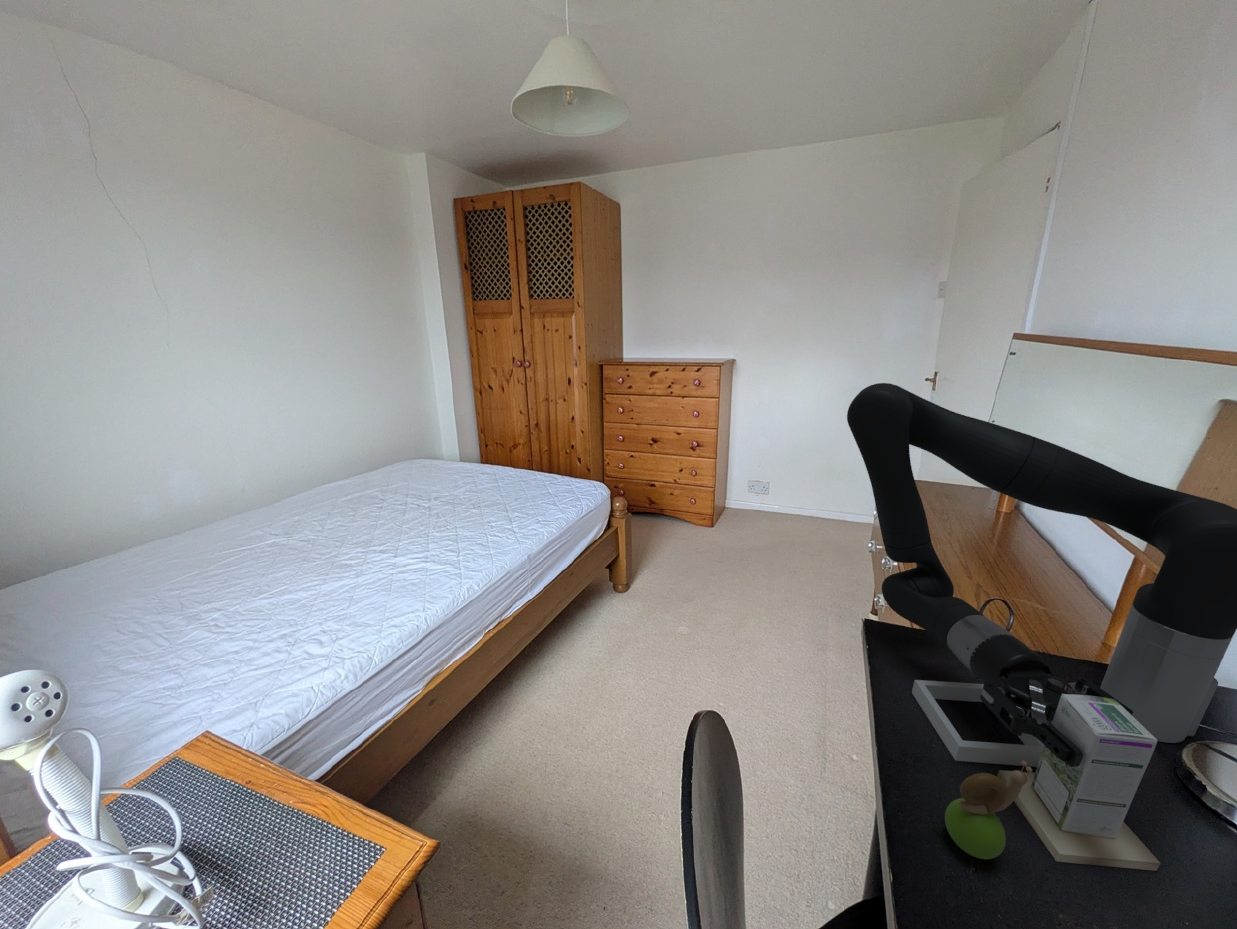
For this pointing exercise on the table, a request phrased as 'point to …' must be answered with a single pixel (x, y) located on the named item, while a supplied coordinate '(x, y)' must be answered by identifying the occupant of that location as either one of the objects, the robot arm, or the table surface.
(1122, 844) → the birch pad
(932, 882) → the table surface
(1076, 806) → the syrup box
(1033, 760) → the grey square frame
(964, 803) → the snail figurine
